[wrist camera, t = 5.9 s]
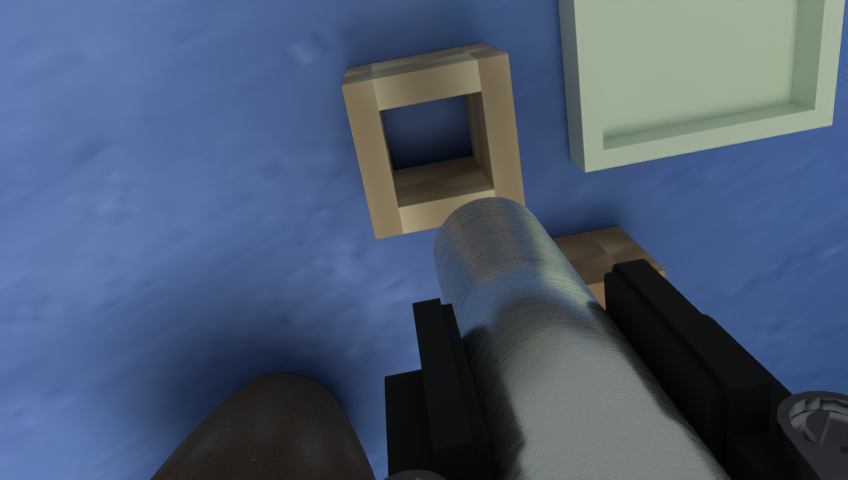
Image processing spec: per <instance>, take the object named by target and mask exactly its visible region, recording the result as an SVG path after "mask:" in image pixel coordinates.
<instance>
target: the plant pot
mask: <svg viewBox="0 0 848 480" xmlns="http://www.w3.org/2000/svg"><path fill="white" fill-rule="evenodd" d="M151 480H376V479H375V476H374V474H373V471H372V469H371V466H370V464H369V462H368V459H367V457H366V454H365V452H364V450H363V448H362V446H361V444H360V441H359V439H358V437H357V435H356V433H355V431H354V429H353V427H352V425H351V423H350V421H349V420H348V418H347V416H346V414H345V413H344V411H343V409H342V407H341V406H340V404H339V403H338V401H337V400H336V398H335V397H334V395H333V394H332V393H331V392H330V391H329V390H328V389H327V388H325V387H324V386H323V385H321V384H320V383H318V382H316V381H314V380H312V379H310V378H307V377H304V376H300V375H296V374H287V373H279V374H270V375H266V376H262V377H259V378H256V379H254V380H252V381H250V382H248V383H247V384H245V385H244V386H242V387H241V388H240V389H239V390H237V391H236V392H235V393H234V394H232V395H231V396H230V397H229V398H228V399H226V400H225V401H224V402H223V403H222V404H221V405H220V406H218V407H217V408H216V409H215V410H214V411H213V412H212V413H211V414H210V415H209V416H208V417H207V418H206V419H205V420H204V421H203V422H202V423H201V424H200V425H199V426H198V427H197V428H196V429H195V430H194V431H193V432H192V433H191V434H190V435H189V436H188V437H187V438H186V439H185V440H184V441H183V442H182V444H181V445H180V446H179V447H178V448H177V449H176V450H175V451H174V452H173V454H172V455H171V456H170V457H169V458H168V459H167V460H166V462H165V463H164V464H163V465H162V466H161V467H160V469H159V470H158V471H157V472H156V473H155V475H154V476H153V477H152V478H151Z"/></svg>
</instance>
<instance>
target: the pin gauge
mask: <svg viewBox="0 0 848 480" xmlns="http://www.w3.org/2000/svg"><path fill="white" fill-rule="evenodd" d="M433 256H434V263H435V267H436V271H437V275H438V279H439V283H440V287H441V291H442V295H443V299H444V303H445V304H449V303H452V306H453V310H454V313H455V317H456V321H457V324H458V328H459V332H460V336H461V339H462V343H463V347H464V350H465V354H466V358H467V362H468V365H469V369H470V373H471V376H472V380H473V384H474V387H475V391H476V395H477V399H478V402H479V406H480V410H481V413H482V417H483V421H484V425H485V429H486V433H487V437H488V442H489V447H490V452H491V458H492V464H493V470H494V476H495V480H731V478H730V477H729V475H728V474H727V473H726V471H725V470H724V469H723V467H722V466H721V465H720V463H719V462H718V461H717V459H716V458H715V457H714V455H713V454H712V453H711V451H710V450H709V449H708V447H707V446H706V445H705V443H704V442H703V441H702V439H701V438H700V437H699V435H698V434H697V433H696V431H695V430H694V429H693V427H692V426H691V425H690V423H689V422H688V421H687V419H686V418H685V417H684V415H683V414H682V413H681V411H680V410H679V409H678V407H677V406H676V405H675V403H674V402H673V400H672V399H671V398H670V396H669V395H668V394H667V392H666V391H665V390H664V388H663V387H662V386H661V384H660V383H659V382H658V380H657V379H656V378H655V376H654V375H653V374H652V372H651V371H650V370H649V368H648V367H647V366H646V364H645V363H644V362H643V360H642V359H641V358H640V356H639V355H638V354H637V352H636V351H635V350H634V348H633V347H632V346H631V344H630V343H629V342H628V340H627V339H626V338H625V336H624V335H623V334H622V332H621V331H620V330H619V328H618V327H617V326H616V324H615V323H614V321H613V320H612V319H611V317H610V316H609V315H608V313H607V312H606V311H605V309H604V308H603V307H602V305H601V304H600V303H599V301H598V300H597V299H596V297H595V296H594V295H593V293H592V292H591V291H590V289H589V288H588V287H587V285H586V284H585V283H584V281H583V280H582V279H581V277H580V276H579V275H578V273H577V272H576V271H575V269H574V268H573V267H572V265H571V264H570V263H569V261H568V260H567V259H566V257H565V256H564V255H563V253H562V252H561V251H560V249H559V248H558V247H557V245H556V244H555V242H554V241H553V240H552V238H551V237H550V236H549V234H548V233H547V232H546V230H545V229H544V228H543V226H542V225H541V224H540V222H539V221H538V220H537V218H536V217H535V216H534V215H533V213H532V212H531V211H530V210H528V209H527V208H526V207H525V206H523V205H521V204H520V203H518V202H516V201H513V200H510V199H507V198H501V197H486V198H480V199H476V200H473V201H470V202H468V203H466V204H464V205H462V206H460V207H459V208H458V209H456V210H455V211H454V212H452V213H451V214H450V215H449V216H448V217H447V219H446V220H445V221H444V222H443V224H442V225H441V227H440V229H439V231H438V233H437V235H436V238H435V242H434V249H433Z"/></svg>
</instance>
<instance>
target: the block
mask: <svg viewBox="0 0 848 480" xmlns="http://www.w3.org/2000/svg"><path fill="white" fill-rule="evenodd" d="M552 240H553V241H554V242H555V244H556V245H557V247H558V248H559V249H560V251H561V252H562V253H563V255H564V256H565V257H566V259H567V260H568V261H569V263H570V264H571V265H572V267H573V268H574V269H575V271H576V272H577V273H578V275H579V276H580V277H581V279H582V280H583V281H584V283H585V284H586V285H587V287H588V288H589V289H590V291H591V292H592V293H593V295H594V296H595V297H596V299H597V300H598V301H599V303H600V304H601V305H602V307H603V308H604V309H605V292H604V275H605V273H608V272H612V267H613V265H614V264H616V263H621V262H627V261H632V260H637V259H645V260H647V261H648V262H649V263H650V264H651V265H652V266H653V267H654V268H655V269H656V270H657V271H658V272H659V273H660V274H661V275H662V276H663V277H664V278H665V269H663V268H662V267H661V266H660V265H659V264H658V263H657V262H656V261H655V260H654V259H653V258H652V257H651V256H650V255H649V254H647V253H646V252H645V251H644V250H643V249H642V248H641V247H640V246H639V245H638V244H637V243H636V242H635V241H634V240H633V239H631V238H630V237H629V236H628V235H627V234H626V233H625V232H624V231H623V230H622V229H621V228H620V227H619V226H614V227H608V228H603V229H598V230H593V231H588V232H583V233H577V234H572V235H567V236H562V237H557V238H552ZM605 311H606V310H605Z"/></svg>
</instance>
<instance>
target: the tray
mask: <svg viewBox="0 0 848 480" xmlns="http://www.w3.org/2000/svg"><path fill="white" fill-rule="evenodd" d="M558 5H559V19H560V32H561V45H562V58H563V71H564V84H565V97H566V110H567V124H568V137H569V150H570V160H571V161H572V162H573V163H574V164H576V165H577V166H578V167H579V168H580V169H582V170H583V171H584V172H585V173H586V172H592V171H597V170H602V169H607V168H612V167H618V166H623V165H628V164H633V163H638V162H643V161H649V160H654V159H659V158H664V157H669V156H675V155H680V154H685V153H690V152H695V151H701V150H706V149H711V148H716V147H721V146H726V145H732V144H737V143H742V142H747V141H752V140H758V139H763V138H768V137H773V136H778V135H783V134H789V133H794V132H799V131H804V130H809V129H815V128H820V127H825V126H830V125H832V120H833V111H834V101H835V92H836V82H837V73H838V63H839V53H840V44H841V34H842V25H843V15H844V6H845V0H558Z"/></svg>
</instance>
